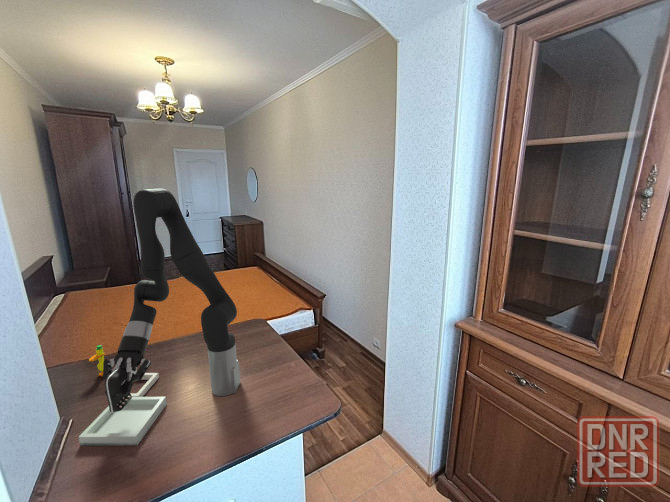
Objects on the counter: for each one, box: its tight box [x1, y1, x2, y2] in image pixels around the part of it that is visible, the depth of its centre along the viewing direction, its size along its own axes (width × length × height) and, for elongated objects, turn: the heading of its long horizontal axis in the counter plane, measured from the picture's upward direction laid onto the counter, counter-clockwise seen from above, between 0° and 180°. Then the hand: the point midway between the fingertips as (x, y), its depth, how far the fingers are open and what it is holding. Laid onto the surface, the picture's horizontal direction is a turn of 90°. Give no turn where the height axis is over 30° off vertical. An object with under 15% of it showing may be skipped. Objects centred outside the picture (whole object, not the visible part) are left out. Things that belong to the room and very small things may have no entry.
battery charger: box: [104, 368, 132, 412], centre depth 91 cm, size 7×4×11 cm, turn 2°
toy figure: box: [88, 344, 106, 377], centre depth 115 cm, size 7×4×12 cm, turn 166°
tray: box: [78, 396, 168, 447], centre depth 93 cm, size 16×16×3 cm
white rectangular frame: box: [130, 372, 160, 397], centre depth 109 cm, size 9×12×2 cm
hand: (116, 395), depth 89 cm, fingers closed on battery charger, 4 cm apart
